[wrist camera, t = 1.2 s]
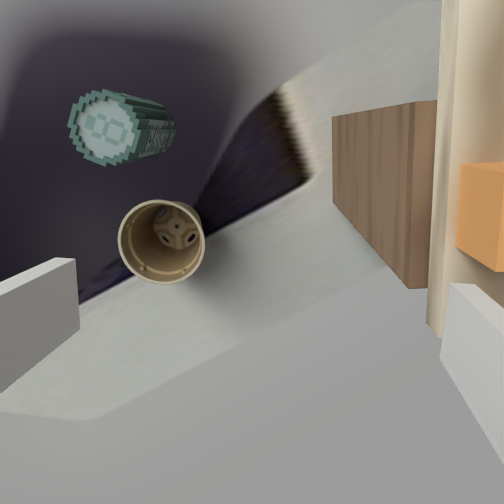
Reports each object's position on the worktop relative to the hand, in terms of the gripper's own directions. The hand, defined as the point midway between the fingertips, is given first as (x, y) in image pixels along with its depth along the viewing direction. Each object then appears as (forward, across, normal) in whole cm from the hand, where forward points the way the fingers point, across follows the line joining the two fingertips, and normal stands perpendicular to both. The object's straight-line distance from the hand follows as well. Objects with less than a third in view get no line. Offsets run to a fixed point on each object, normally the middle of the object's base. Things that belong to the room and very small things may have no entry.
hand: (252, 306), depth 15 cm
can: (+38, +17, -7) cm, 42 cm away
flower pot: (+38, +14, +5) cm, 41 cm away
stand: (+40, -8, -4) cm, 41 cm away
